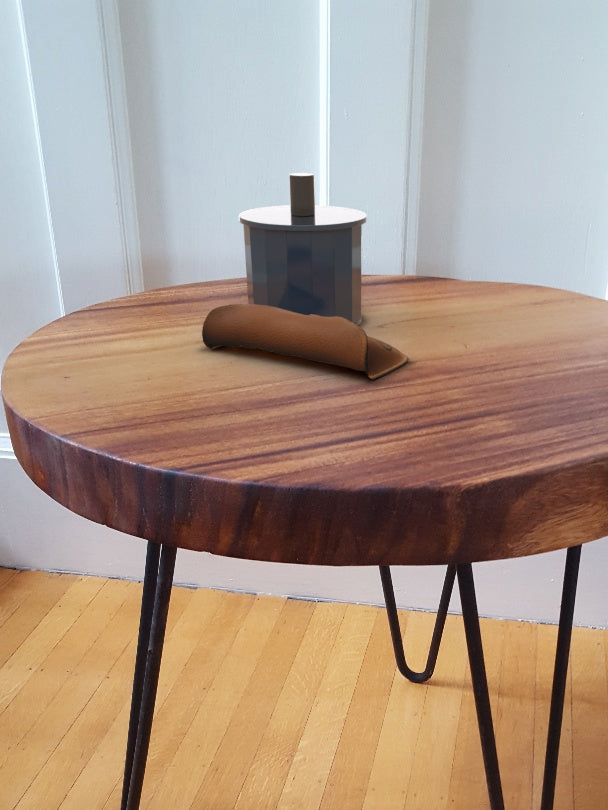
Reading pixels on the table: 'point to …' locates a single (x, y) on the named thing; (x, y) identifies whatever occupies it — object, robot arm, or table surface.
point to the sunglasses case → (300, 337)
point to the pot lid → (302, 211)
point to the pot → (306, 271)
